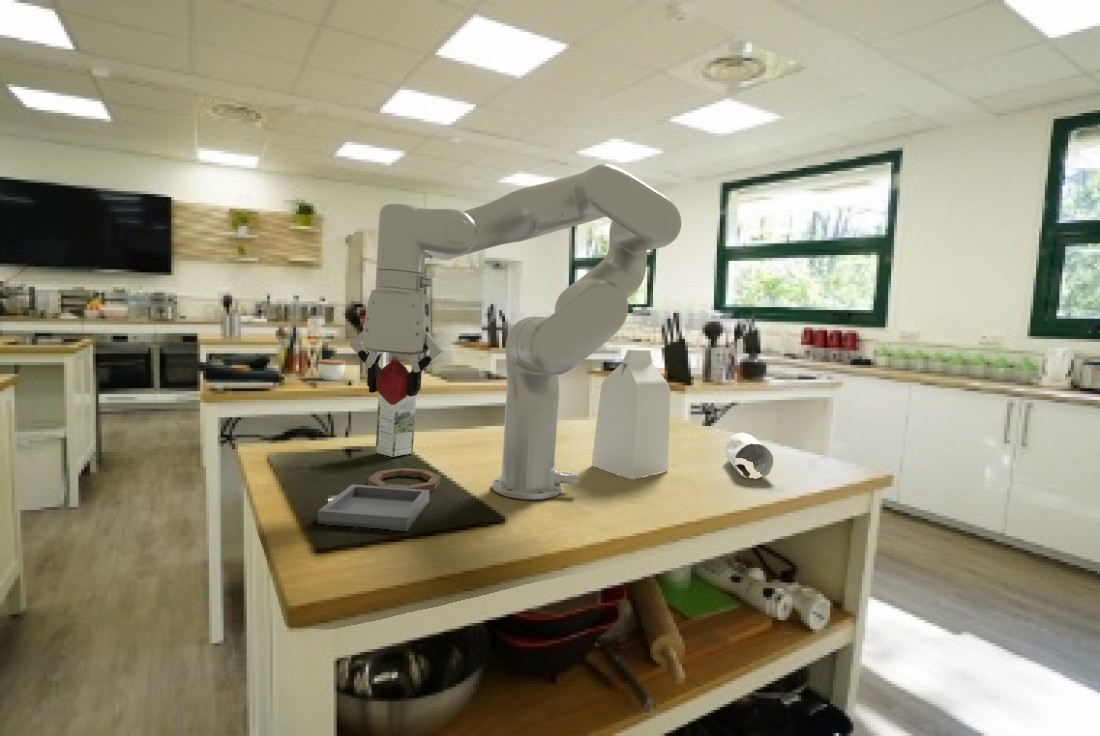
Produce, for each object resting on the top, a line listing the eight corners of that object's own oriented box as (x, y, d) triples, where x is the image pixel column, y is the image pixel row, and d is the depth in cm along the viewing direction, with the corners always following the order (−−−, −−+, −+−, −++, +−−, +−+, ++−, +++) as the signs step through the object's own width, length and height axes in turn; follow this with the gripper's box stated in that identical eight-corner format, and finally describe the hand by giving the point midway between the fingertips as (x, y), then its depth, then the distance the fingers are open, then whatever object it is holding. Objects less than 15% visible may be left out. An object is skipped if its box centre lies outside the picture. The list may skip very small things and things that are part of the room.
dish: (429, 501, 95) (429, 490, 94) (407, 531, 82) (407, 517, 81) (351, 496, 95) (351, 484, 95) (317, 524, 82) (317, 511, 82)
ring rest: (444, 477, 109) (445, 471, 109) (429, 496, 97) (430, 490, 97) (382, 472, 109) (382, 466, 109) (360, 491, 97) (360, 484, 97)
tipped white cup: (751, 461, 140) (754, 429, 139) (771, 482, 121) (775, 445, 120) (718, 457, 141) (721, 426, 140) (733, 478, 122) (736, 442, 121)
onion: (418, 405, 96) (421, 358, 95) (393, 409, 90) (396, 359, 90) (392, 401, 98) (395, 354, 98) (367, 404, 93) (369, 355, 93)
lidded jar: (312, 378, 234) (312, 355, 233) (336, 377, 242) (337, 355, 241) (325, 381, 227) (326, 358, 226) (350, 380, 235) (350, 357, 234)
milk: (631, 479, 116) (641, 352, 113) (591, 466, 124) (600, 347, 122) (667, 472, 124) (678, 352, 121) (627, 459, 132) (636, 347, 130)
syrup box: (396, 449, 127) (398, 385, 126) (413, 454, 124) (416, 388, 123) (374, 453, 123) (377, 387, 121) (392, 459, 119) (395, 390, 118)
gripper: (457, 289, 96) (450, 395, 97) (358, 281, 97) (353, 386, 99) (445, 286, 88) (437, 401, 90) (338, 277, 90) (332, 391, 91)
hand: (393, 392), depth 94 cm, fingers closed on onion, 5 cm apart
